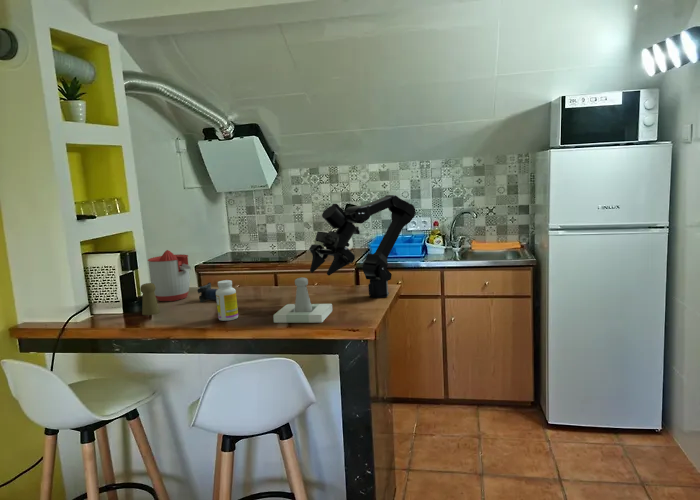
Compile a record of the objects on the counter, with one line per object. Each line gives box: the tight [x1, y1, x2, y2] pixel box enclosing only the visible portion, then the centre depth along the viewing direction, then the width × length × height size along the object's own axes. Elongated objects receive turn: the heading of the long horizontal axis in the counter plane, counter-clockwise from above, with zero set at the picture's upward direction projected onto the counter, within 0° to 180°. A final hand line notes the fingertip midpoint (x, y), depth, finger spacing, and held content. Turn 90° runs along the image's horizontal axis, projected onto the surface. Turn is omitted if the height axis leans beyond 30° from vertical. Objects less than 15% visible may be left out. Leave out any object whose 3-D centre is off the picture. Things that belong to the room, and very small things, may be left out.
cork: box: [139, 282, 160, 316], centre depth 199 cm, size 6×6×11 cm
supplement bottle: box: [216, 279, 239, 322], centre depth 184 cm, size 7×7×13 cm
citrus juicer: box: [147, 249, 192, 302], centre depth 221 cm, size 16×17×20 cm
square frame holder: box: [272, 303, 333, 324], centre depth 182 cm, size 16×14×2 cm
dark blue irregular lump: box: [197, 282, 219, 303], centre depth 214 cm, size 9×8×12 cm
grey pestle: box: [294, 277, 312, 312], centre depth 181 cm, size 6×6×13 cm
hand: (319, 273), depth 185 cm, fingers open, 9 cm apart
